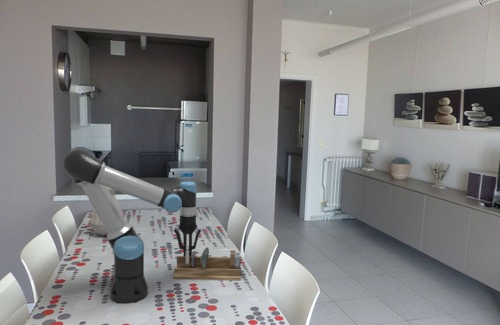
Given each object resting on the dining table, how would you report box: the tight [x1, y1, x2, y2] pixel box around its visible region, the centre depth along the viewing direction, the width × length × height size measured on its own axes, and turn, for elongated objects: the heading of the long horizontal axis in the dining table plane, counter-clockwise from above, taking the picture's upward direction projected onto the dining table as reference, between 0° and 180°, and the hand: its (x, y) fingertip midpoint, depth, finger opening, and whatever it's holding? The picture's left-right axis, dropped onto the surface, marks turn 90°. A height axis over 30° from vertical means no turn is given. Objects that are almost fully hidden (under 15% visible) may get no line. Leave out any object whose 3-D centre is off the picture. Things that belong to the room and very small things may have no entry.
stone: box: [199, 246, 210, 269], centre depth 179 cm, size 11×4×10 cm, turn 175°
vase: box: [89, 187, 124, 236], centre depth 236 cm, size 20×20×30 cm
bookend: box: [192, 250, 196, 268], centre depth 179 cm, size 5×3×9 cm, turn 1°
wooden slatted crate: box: [173, 250, 242, 281], centre depth 180 cm, size 12×31×11 cm, turn 91°
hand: (187, 262), depth 179 cm, fingers closed
